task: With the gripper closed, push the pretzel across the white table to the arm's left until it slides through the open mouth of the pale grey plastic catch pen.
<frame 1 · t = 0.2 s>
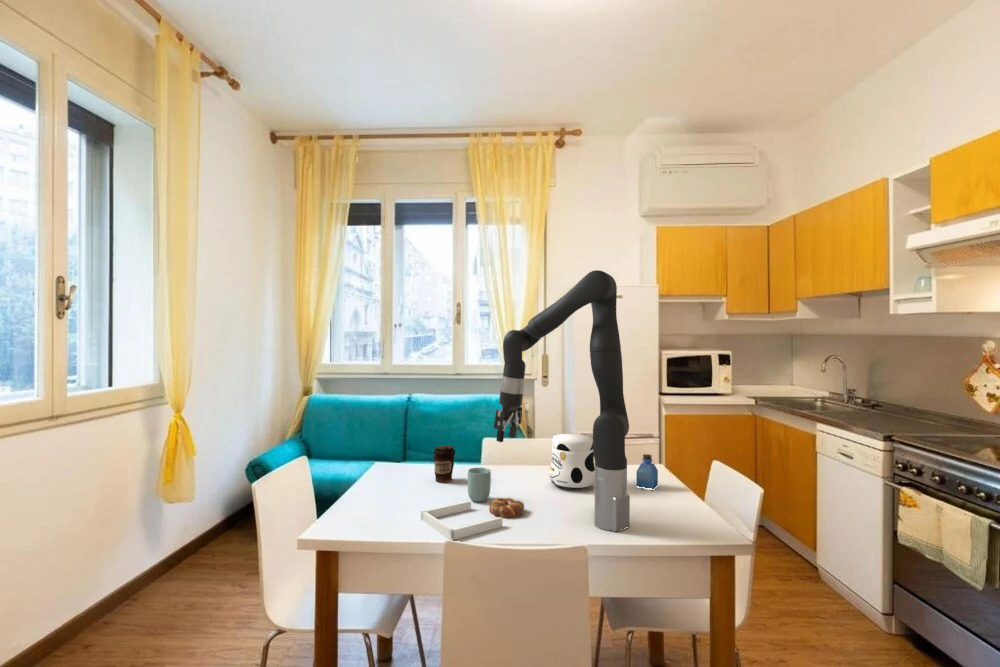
hand: (506, 439, 154), 22 cm above the table, tool pointing down, fingers open, 8 cm apart
cup: (478, 500, 158), on the table
perfume bottle: (647, 488, 175), on the table
pretzel: (505, 513, 148), on the table
catch pen: (462, 522, 138), on the table
milk container: (572, 486, 176), on the table
coffee cup: (444, 481, 180), on the table
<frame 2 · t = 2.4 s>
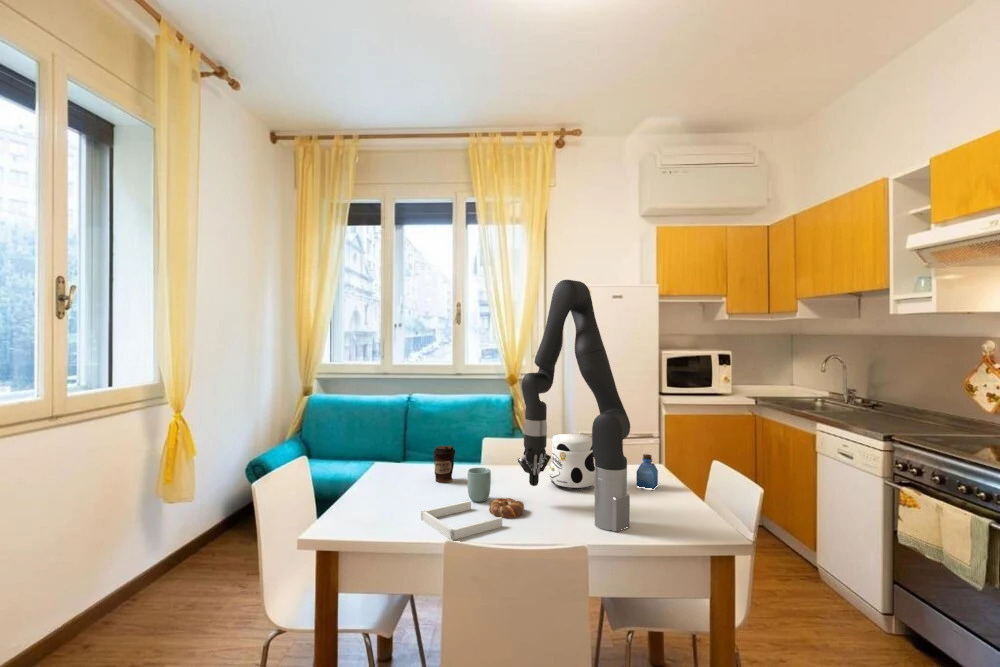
hand: (533, 485, 155), 6 cm above the table, tool pointing down, fingers closed
nothing on the table moved.
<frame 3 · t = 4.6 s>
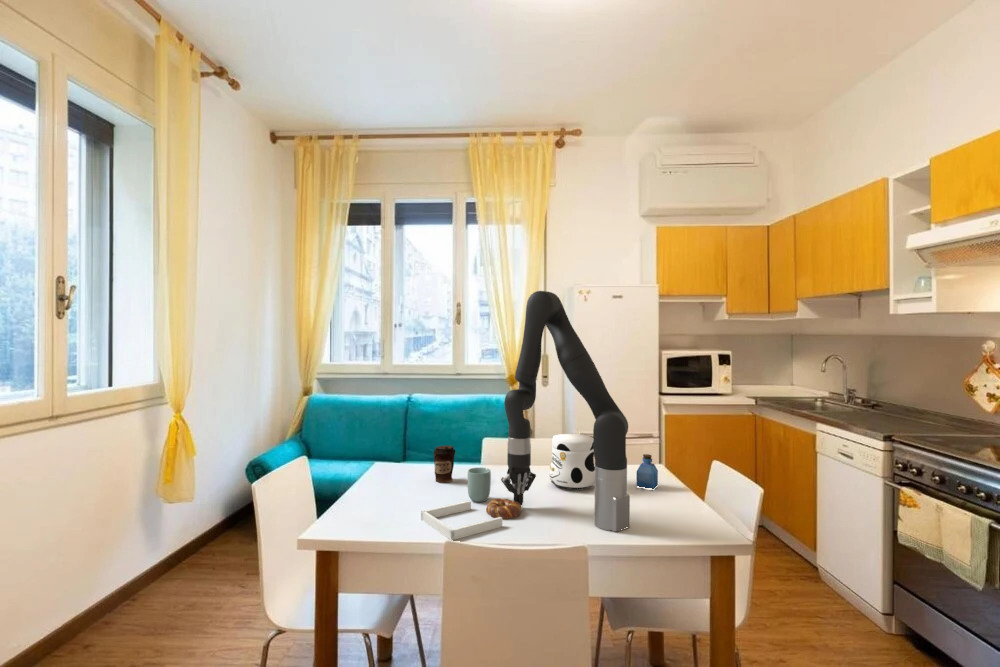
hand: (518, 504, 151), 1 cm above the table, tool pointing down, fingers closed
pretzel: (503, 514, 147), on the table, touching gripper
everything else where it was.
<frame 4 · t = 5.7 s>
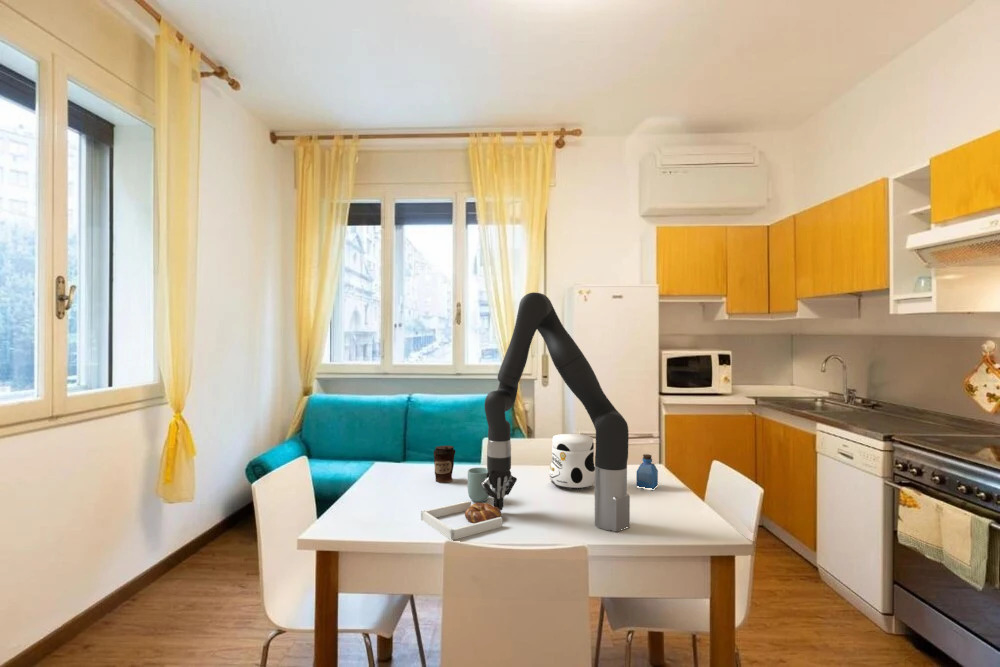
hand: (498, 509, 146), 1 cm above the table, tool pointing down, fingers closed
pretzel: (481, 519, 142), on the table, touching gripper
everything else where it was.
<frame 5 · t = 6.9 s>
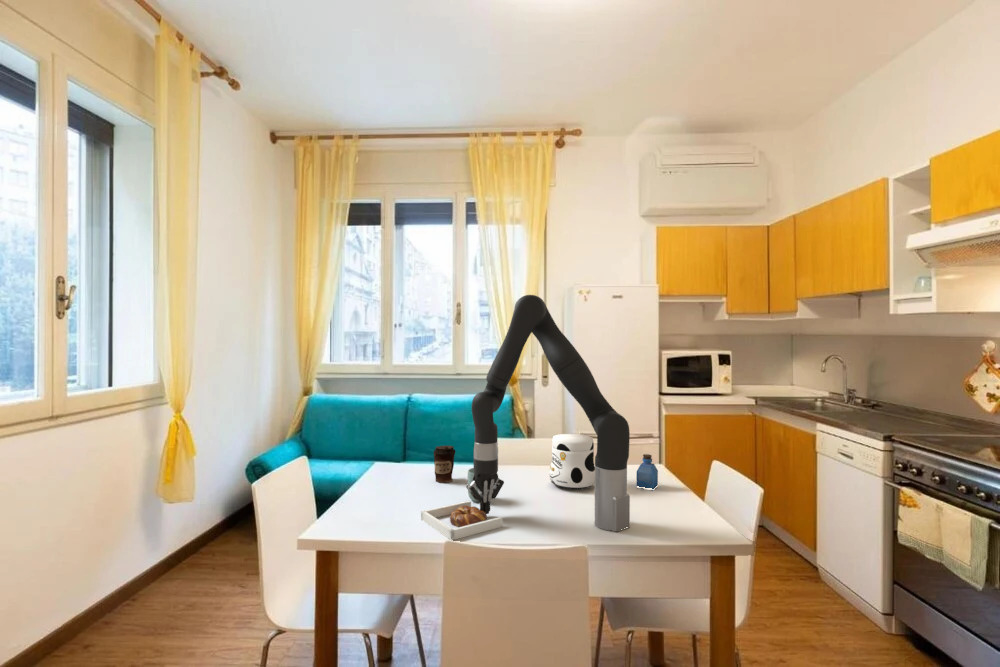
hand: (485, 513, 143), 1 cm above the table, tool pointing down, fingers closed
pretzel: (467, 522, 140), on the table
everything else where it was.
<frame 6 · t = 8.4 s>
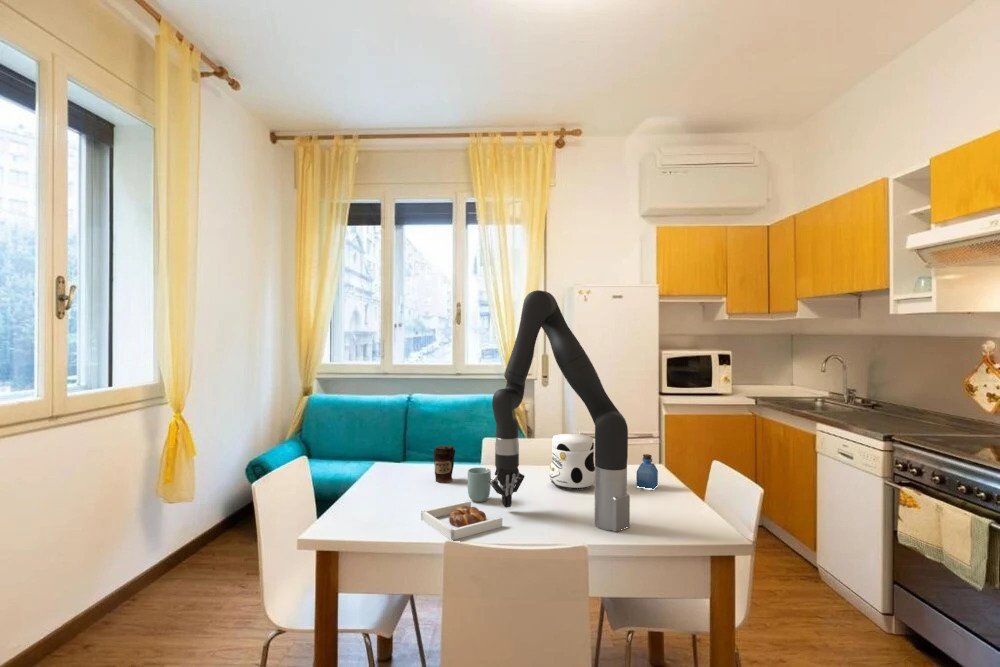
hand: (506, 506, 148), 2 cm above the table, tool pointing down, fingers closed
nothing on the table moved.
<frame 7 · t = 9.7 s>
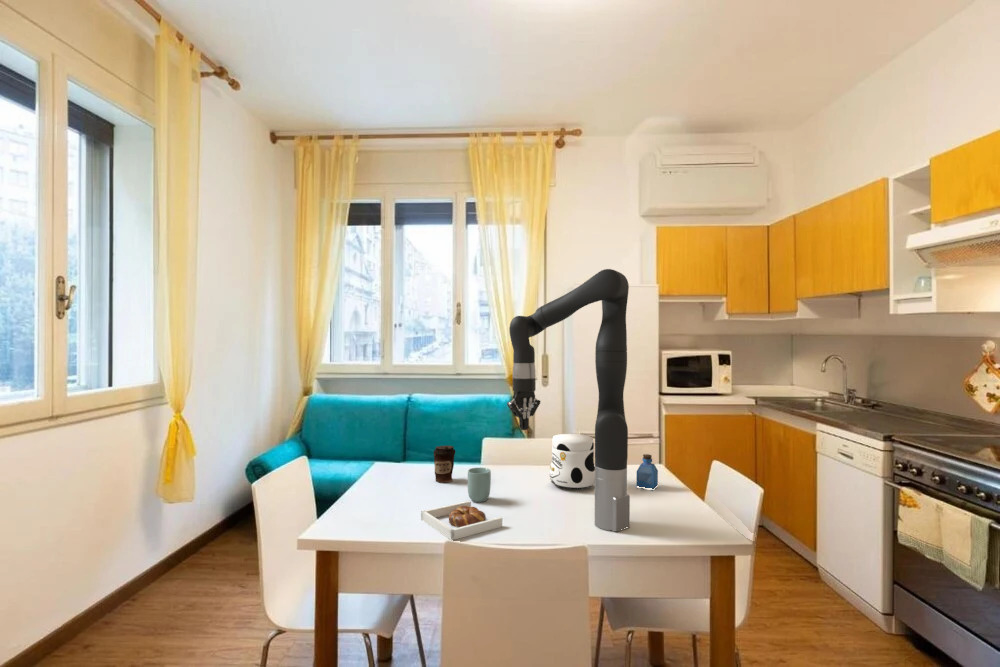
hand: (524, 429, 154), 25 cm above the table, tool pointing down, fingers closed
nothing on the table moved.
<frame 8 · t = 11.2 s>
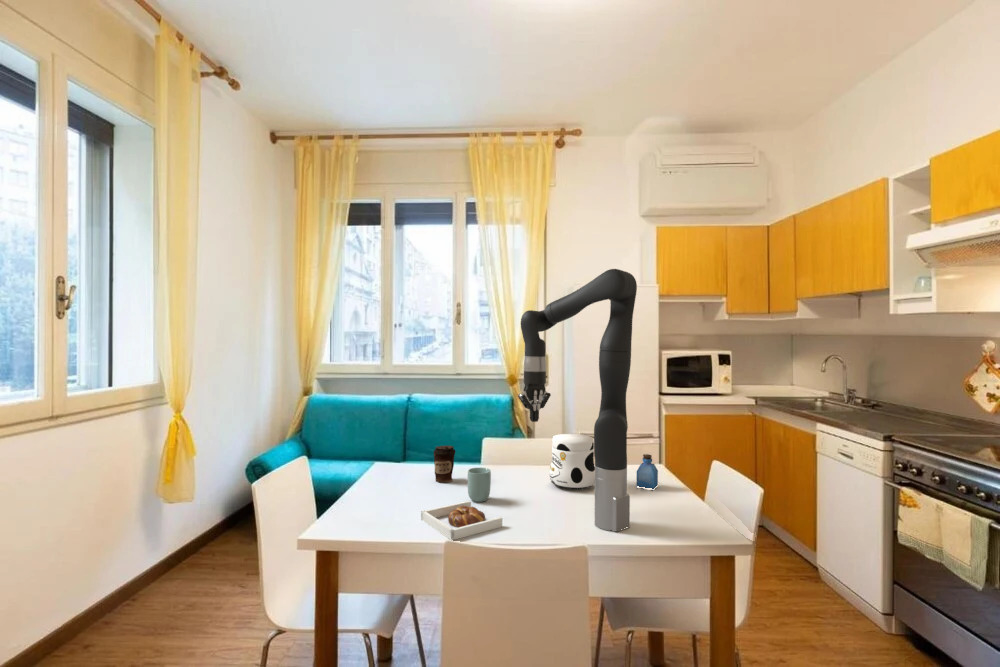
hand: (534, 421, 157), 27 cm above the table, tool pointing down, fingers closed
nothing on the table moved.
at the end: pretzel inside the target area on the catch pen (3.3 cm from its centre), point -0.5 cm above the catch pen's base; pretzel moved 14.7 cm from its start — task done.
